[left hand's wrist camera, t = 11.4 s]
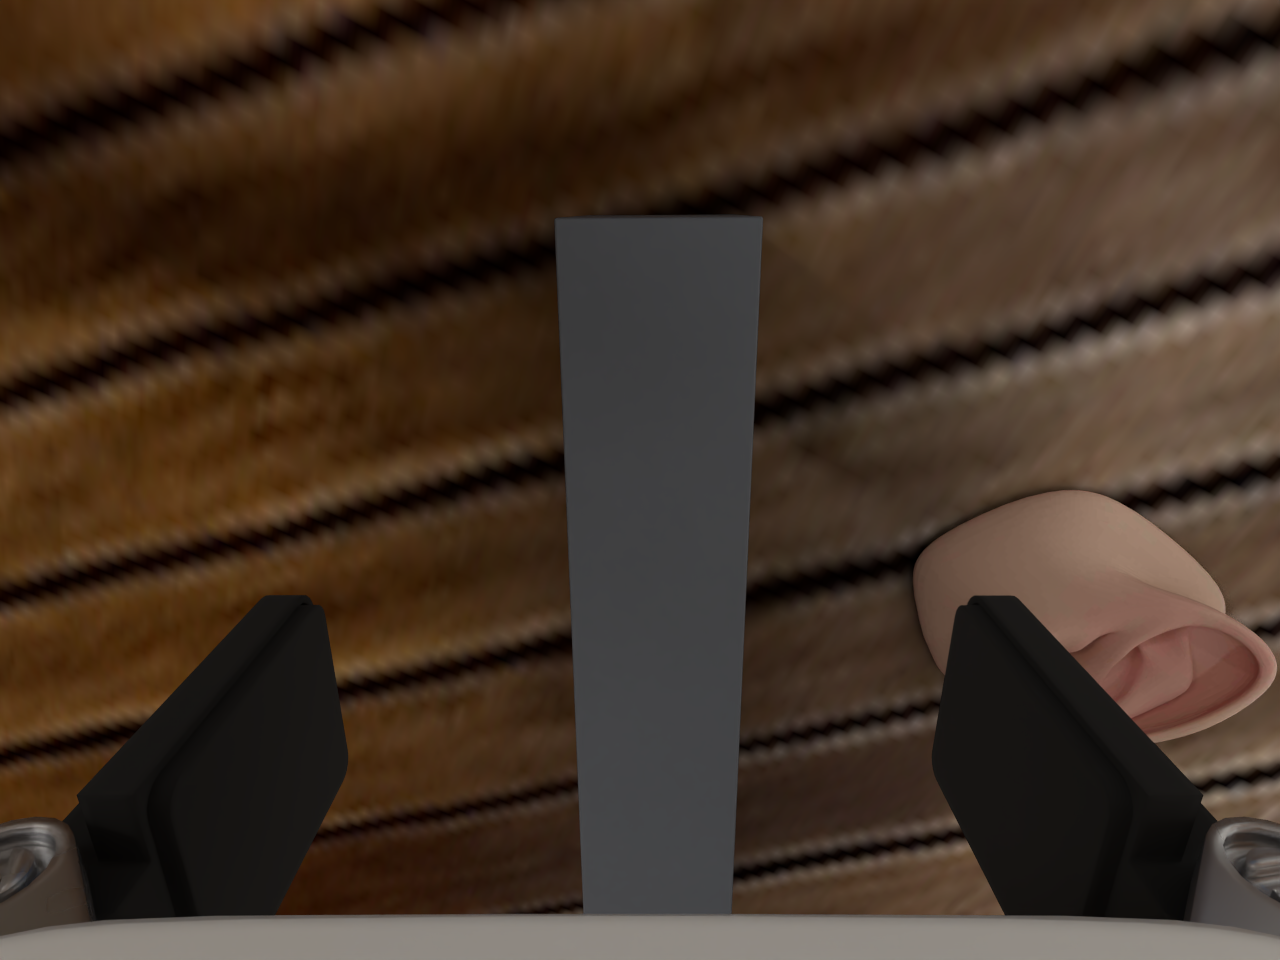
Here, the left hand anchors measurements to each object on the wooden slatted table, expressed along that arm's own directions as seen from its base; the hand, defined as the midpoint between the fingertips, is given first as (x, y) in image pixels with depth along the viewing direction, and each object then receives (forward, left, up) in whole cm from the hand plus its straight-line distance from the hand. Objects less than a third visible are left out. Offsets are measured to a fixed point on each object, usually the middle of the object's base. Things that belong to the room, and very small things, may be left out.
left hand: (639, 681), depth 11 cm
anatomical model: (+11, +18, -22) cm, 30 cm away
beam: (+33, 0, -22) cm, 39 cm away
